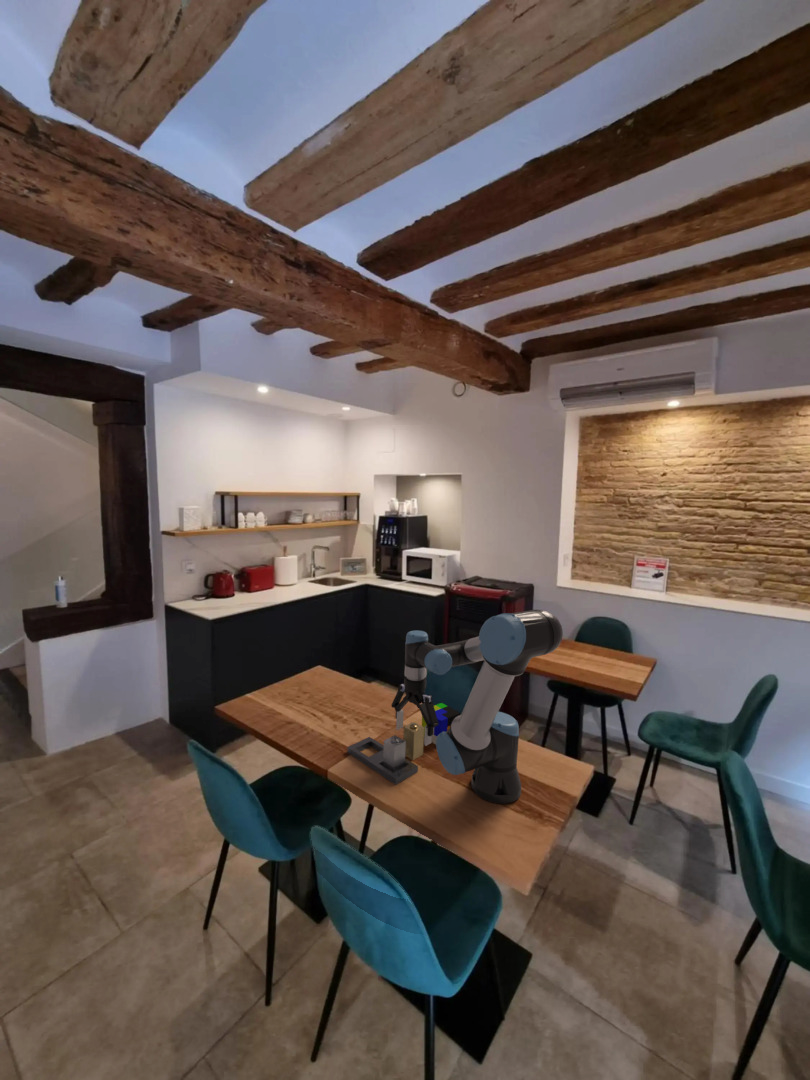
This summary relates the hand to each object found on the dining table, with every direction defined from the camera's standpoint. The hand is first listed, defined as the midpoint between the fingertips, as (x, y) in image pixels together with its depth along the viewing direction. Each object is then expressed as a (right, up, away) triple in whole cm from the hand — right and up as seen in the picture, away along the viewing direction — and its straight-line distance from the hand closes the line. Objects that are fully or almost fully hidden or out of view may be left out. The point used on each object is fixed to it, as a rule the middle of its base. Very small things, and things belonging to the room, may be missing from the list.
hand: (413, 736), depth 156 cm
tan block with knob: (0, -7, +1) cm, 7 cm away
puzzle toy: (+10, -6, +13) cm, 17 cm away
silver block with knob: (-6, -7, -9) cm, 13 cm away
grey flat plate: (-11, -7, -4) cm, 13 cm away
